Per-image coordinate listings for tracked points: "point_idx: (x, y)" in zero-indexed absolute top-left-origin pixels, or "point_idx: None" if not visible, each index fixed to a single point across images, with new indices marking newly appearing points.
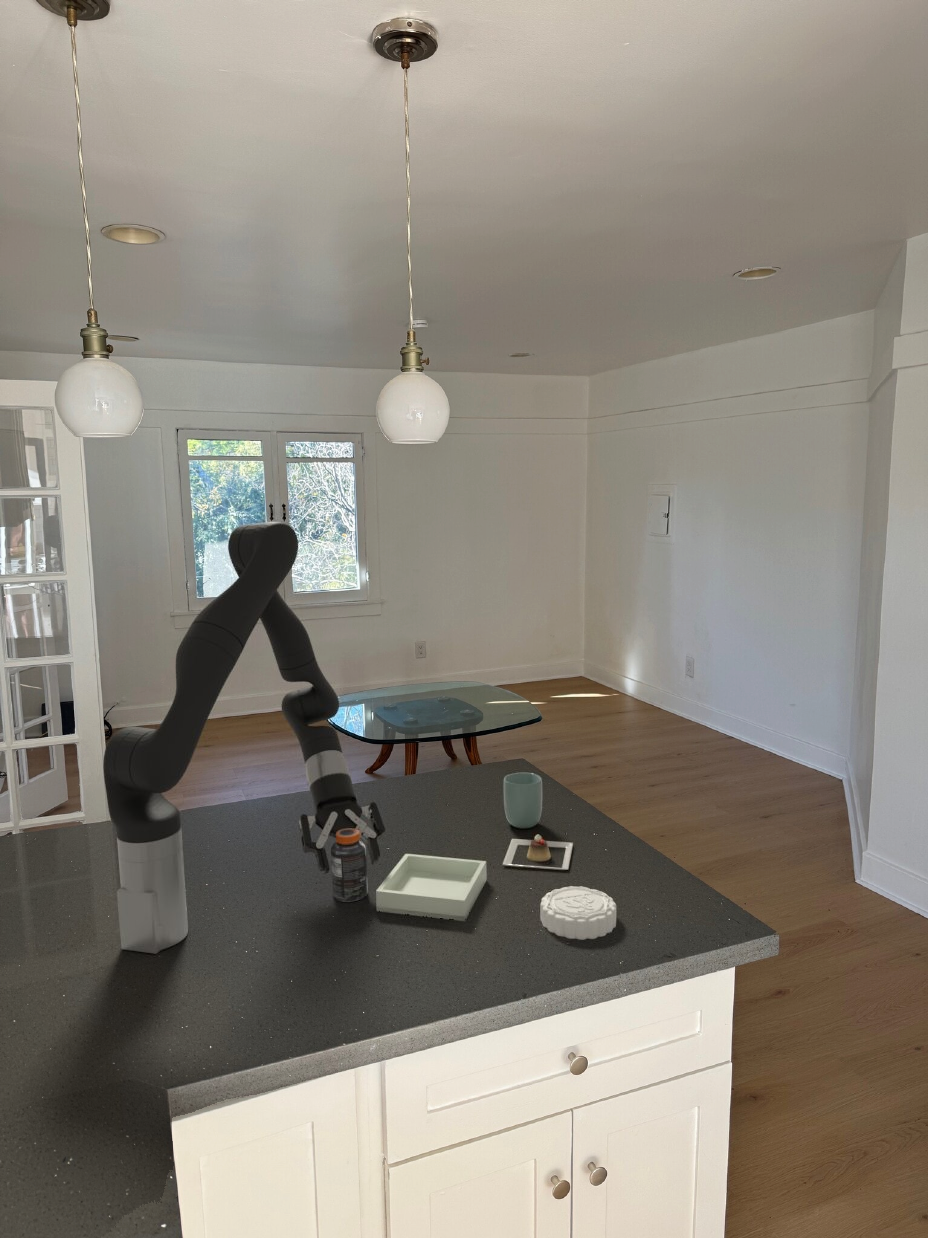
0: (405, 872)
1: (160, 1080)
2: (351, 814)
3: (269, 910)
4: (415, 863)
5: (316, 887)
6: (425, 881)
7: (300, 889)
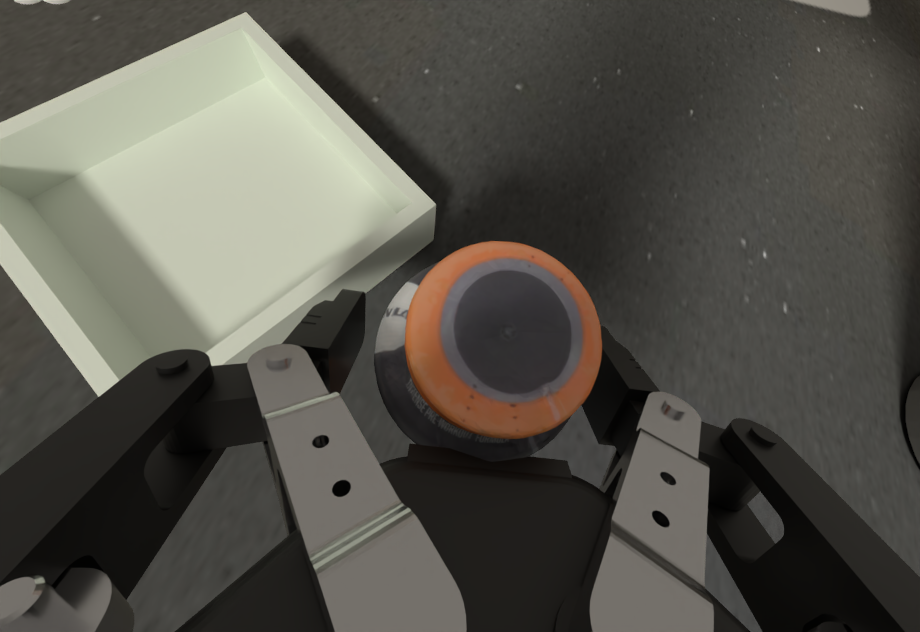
0: None
1: (873, 33)
2: (372, 562)
3: None
4: None
5: None
6: (205, 284)
7: None
